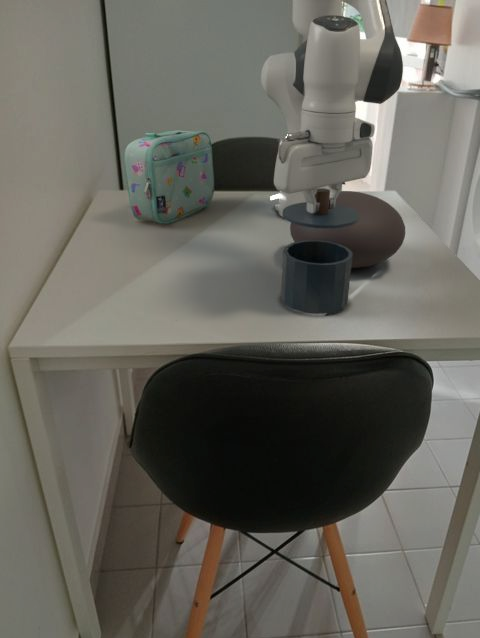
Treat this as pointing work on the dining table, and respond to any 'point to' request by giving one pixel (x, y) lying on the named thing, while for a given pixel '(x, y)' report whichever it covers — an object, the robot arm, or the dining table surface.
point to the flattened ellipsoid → (361, 230)
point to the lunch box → (169, 175)
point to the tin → (316, 276)
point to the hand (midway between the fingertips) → (321, 210)
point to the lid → (321, 213)
